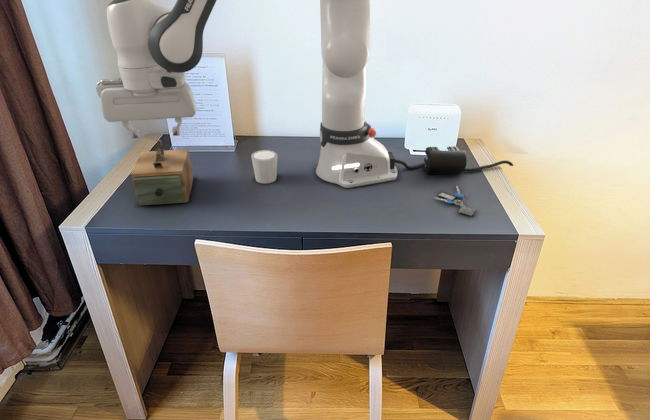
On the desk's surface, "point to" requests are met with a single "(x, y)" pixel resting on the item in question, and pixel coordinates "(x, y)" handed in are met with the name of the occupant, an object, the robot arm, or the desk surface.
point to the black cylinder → (445, 160)
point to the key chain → (463, 208)
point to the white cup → (265, 166)
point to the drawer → (159, 189)
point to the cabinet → (166, 168)
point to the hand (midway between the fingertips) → (156, 136)
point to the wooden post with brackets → (159, 155)
